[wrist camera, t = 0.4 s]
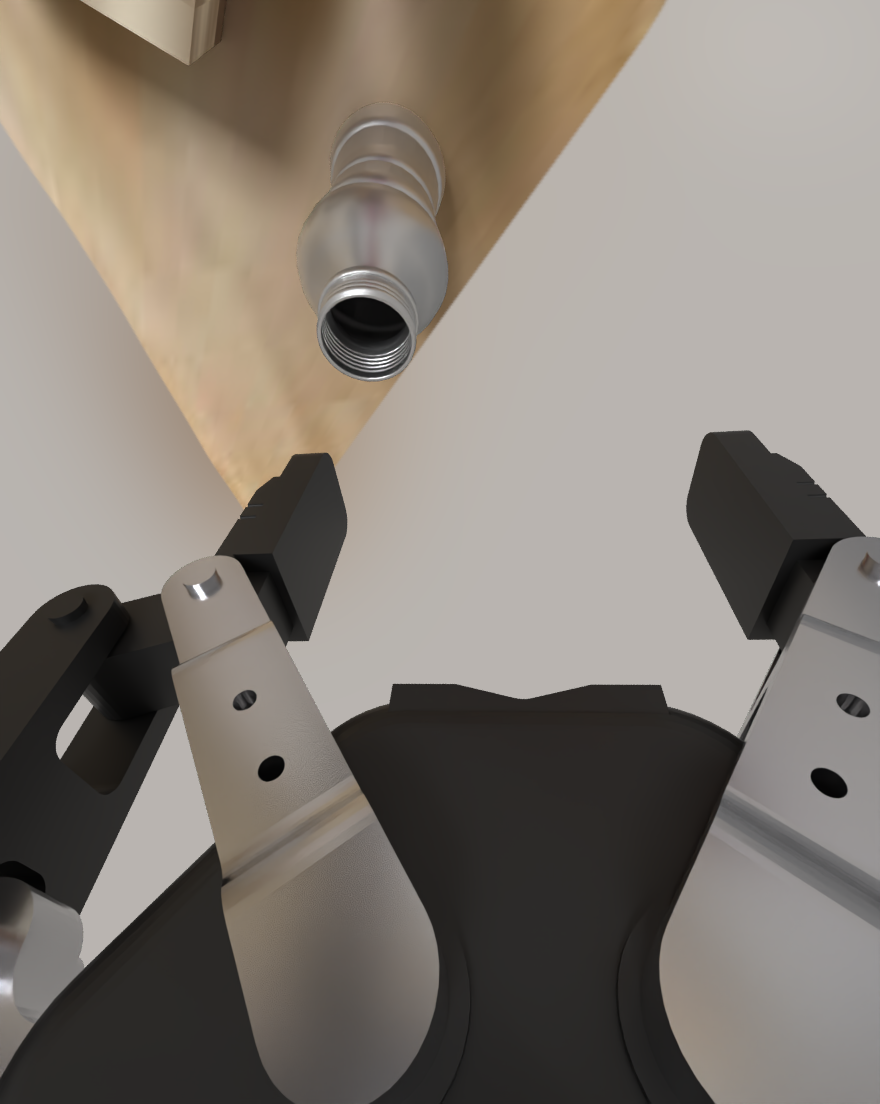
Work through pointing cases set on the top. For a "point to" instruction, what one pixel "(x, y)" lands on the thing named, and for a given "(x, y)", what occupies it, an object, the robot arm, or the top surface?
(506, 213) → the top surface
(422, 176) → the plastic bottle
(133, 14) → the socket block
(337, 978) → the robot arm
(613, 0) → the top surface
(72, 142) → the top surface
